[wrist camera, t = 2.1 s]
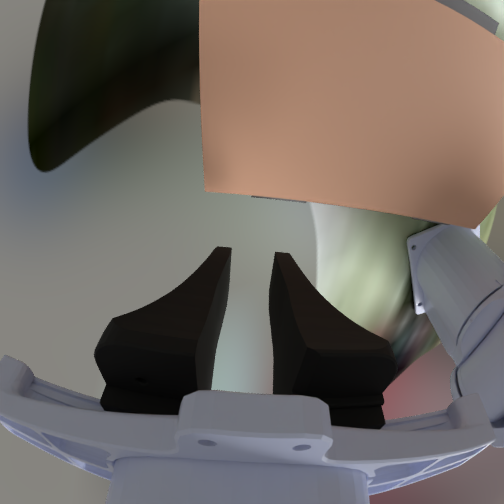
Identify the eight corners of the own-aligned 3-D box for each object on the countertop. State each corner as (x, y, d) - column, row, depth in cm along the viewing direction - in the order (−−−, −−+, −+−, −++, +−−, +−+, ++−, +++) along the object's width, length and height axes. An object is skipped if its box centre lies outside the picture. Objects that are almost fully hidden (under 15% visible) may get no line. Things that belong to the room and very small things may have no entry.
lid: (467, 222, 17) (471, 233, 16) (208, 184, 16) (205, 197, 16) (559, 78, 6) (570, 87, 5) (207, -61, 5) (201, -63, 5)
